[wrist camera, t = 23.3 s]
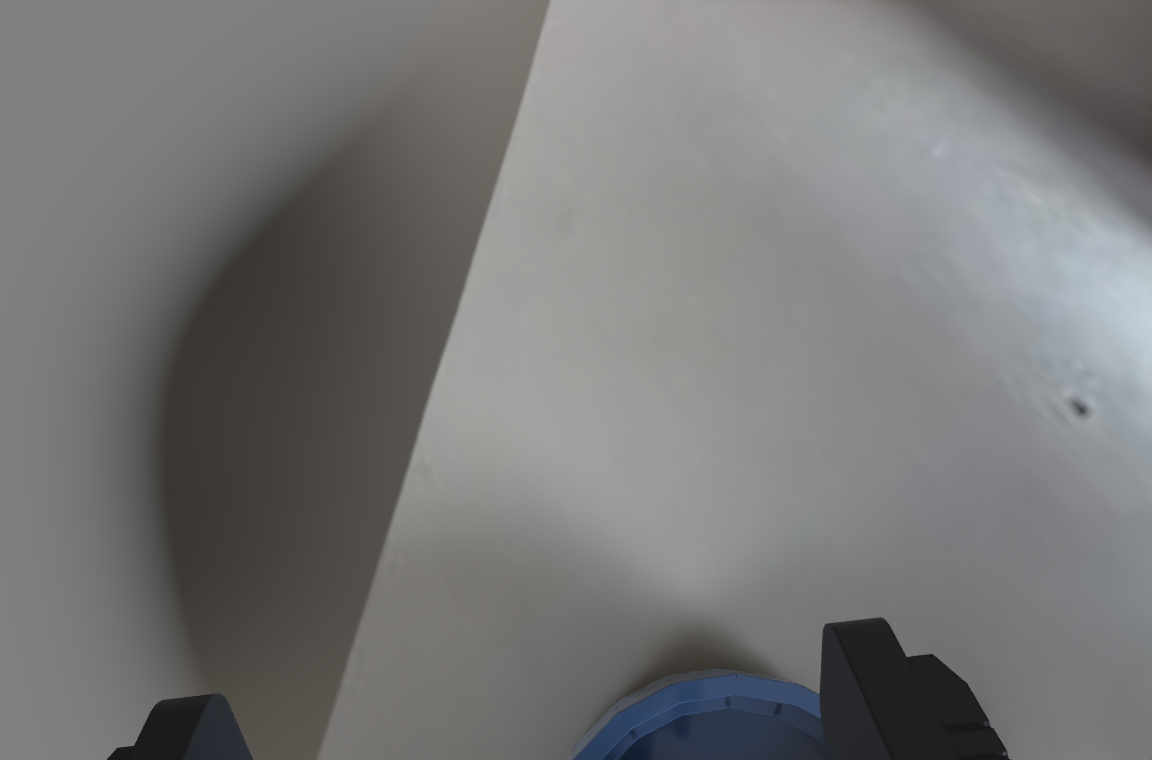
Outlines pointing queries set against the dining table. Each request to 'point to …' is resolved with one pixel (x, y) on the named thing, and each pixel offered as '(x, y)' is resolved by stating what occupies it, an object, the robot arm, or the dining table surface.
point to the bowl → (710, 721)
